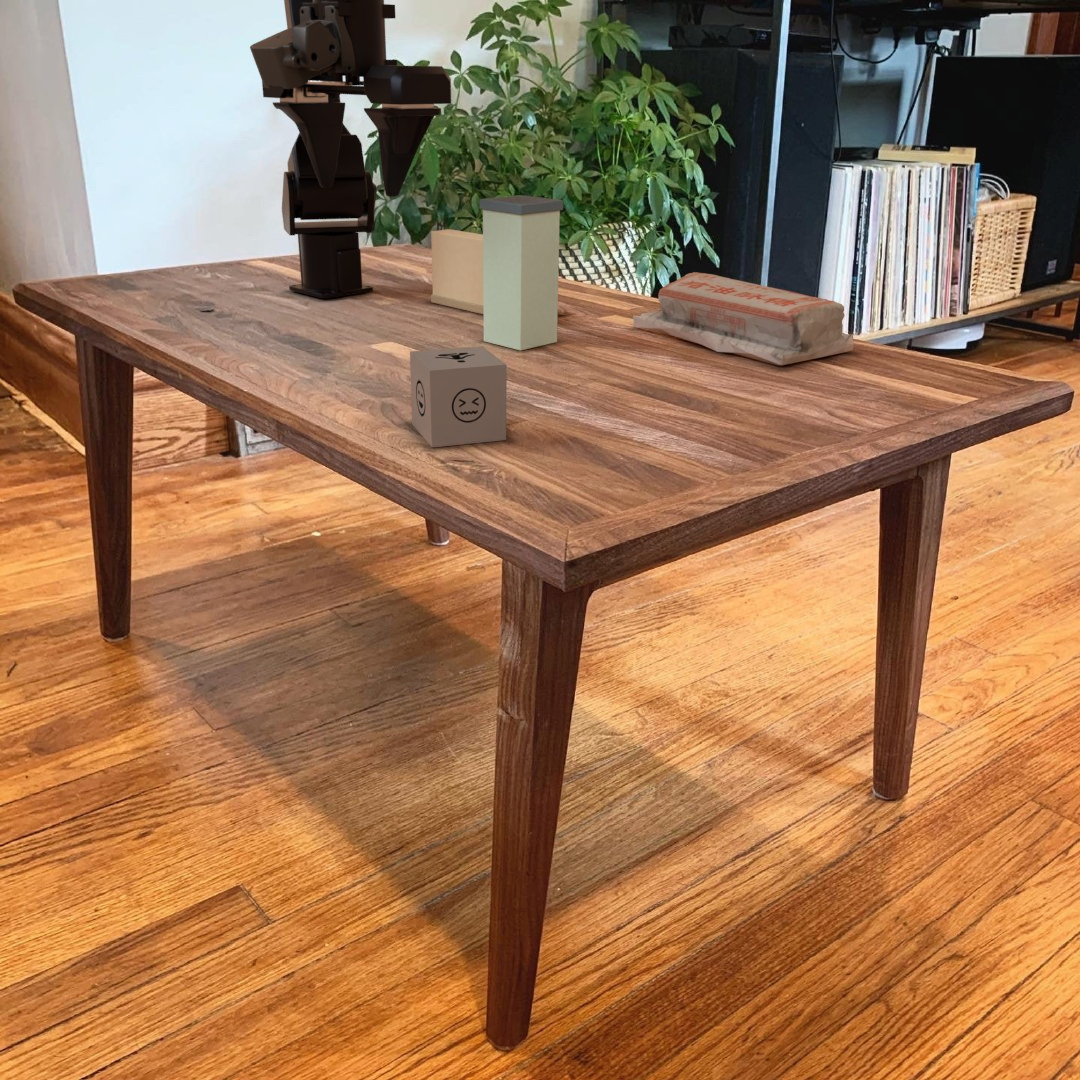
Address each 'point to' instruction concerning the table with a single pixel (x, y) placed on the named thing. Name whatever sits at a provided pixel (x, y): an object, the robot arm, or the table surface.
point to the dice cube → (458, 396)
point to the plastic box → (520, 270)
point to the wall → (457, 269)
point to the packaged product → (748, 319)
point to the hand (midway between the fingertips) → (358, 191)
